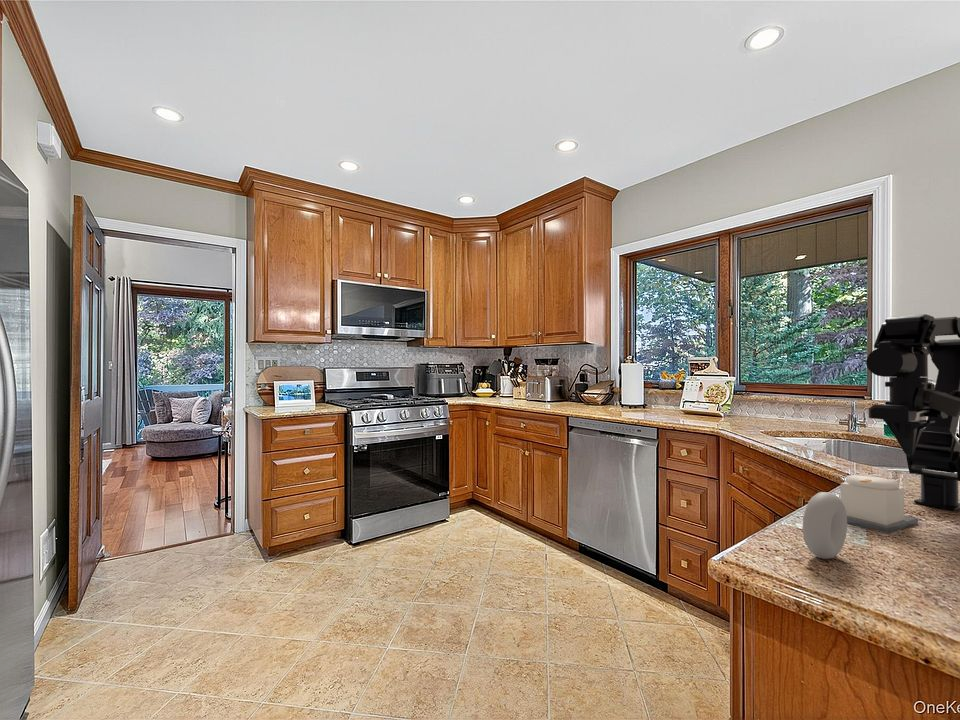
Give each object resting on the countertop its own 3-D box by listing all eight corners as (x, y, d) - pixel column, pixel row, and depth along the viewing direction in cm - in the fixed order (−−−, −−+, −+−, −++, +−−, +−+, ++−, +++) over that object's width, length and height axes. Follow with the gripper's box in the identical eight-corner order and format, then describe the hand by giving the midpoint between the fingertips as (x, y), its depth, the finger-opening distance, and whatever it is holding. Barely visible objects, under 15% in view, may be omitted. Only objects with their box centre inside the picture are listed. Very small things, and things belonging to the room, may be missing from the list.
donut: (826, 569, 65) (825, 499, 66) (798, 561, 68) (798, 494, 68) (851, 554, 71) (850, 490, 71) (825, 547, 74) (824, 485, 74)
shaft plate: (857, 509, 94) (857, 477, 94) (917, 523, 86) (917, 488, 86) (826, 517, 89) (826, 483, 89) (887, 533, 80) (887, 495, 80)
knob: (858, 508, 92) (857, 472, 92) (907, 520, 85) (906, 481, 85) (838, 513, 88) (838, 476, 88) (887, 526, 81) (887, 485, 81)
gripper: (942, 377, 81) (944, 465, 80) (983, 378, 89) (984, 457, 89) (866, 376, 91) (867, 455, 90) (909, 377, 99) (910, 449, 99)
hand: (909, 454), depth 92 cm, fingers closed
